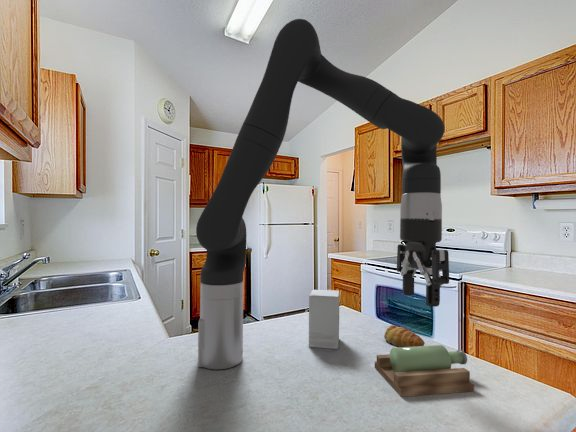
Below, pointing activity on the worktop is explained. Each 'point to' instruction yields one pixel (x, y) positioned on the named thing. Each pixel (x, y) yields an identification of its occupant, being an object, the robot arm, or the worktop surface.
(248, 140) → the robot arm
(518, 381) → the worktop surface
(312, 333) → the supplement box
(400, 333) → the pastry
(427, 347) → the bottle
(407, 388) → the cradle
